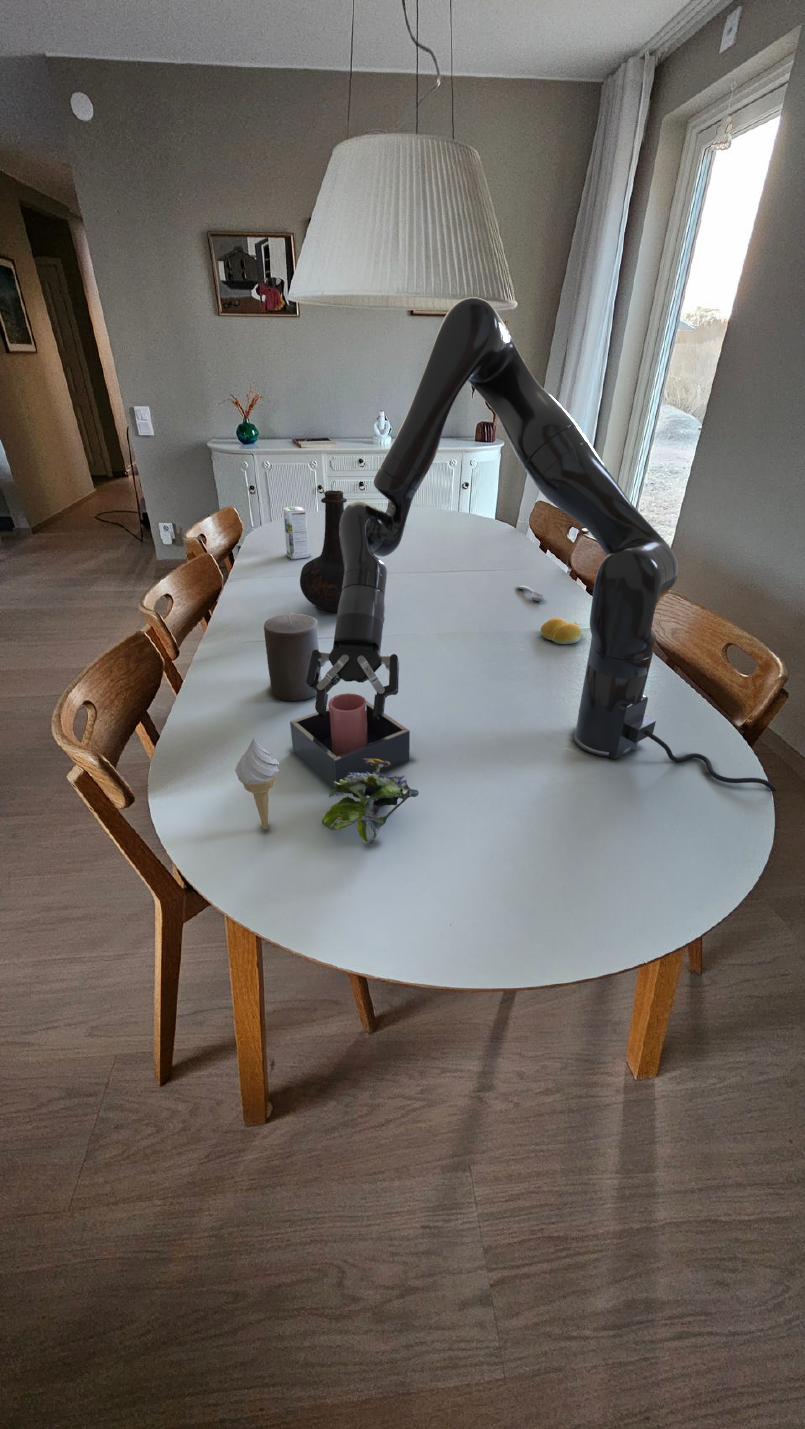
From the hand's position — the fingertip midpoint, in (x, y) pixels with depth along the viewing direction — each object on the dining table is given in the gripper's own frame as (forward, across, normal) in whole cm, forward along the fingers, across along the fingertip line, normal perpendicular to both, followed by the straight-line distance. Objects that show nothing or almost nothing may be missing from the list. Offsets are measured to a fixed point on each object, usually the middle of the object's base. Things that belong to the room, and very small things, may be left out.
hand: (348, 717), depth 96 cm
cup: (+4, 0, +5) cm, 7 cm away
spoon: (-52, +32, +62) cm, 87 cm away
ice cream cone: (+18, -8, -8) cm, 22 cm away
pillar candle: (-10, -15, +20) cm, 27 cm away
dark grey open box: (+5, 0, +6) cm, 8 cm away
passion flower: (+17, +6, -6) cm, 19 cm away
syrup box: (-70, -39, +80) cm, 113 cm away
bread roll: (-32, +37, +43) cm, 66 cm away
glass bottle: (-41, -17, +52) cm, 68 cm away
